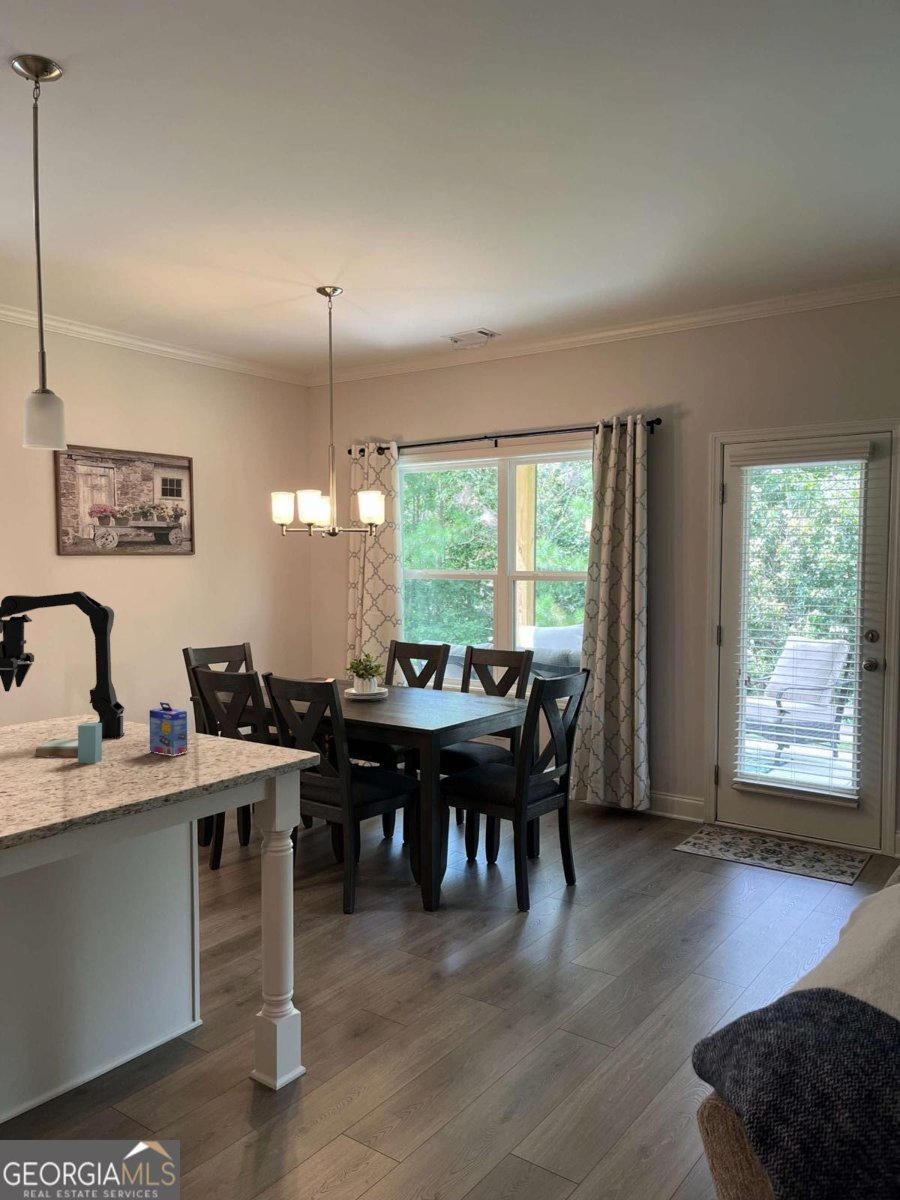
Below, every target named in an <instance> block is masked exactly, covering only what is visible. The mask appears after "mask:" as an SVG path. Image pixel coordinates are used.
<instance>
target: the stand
mask: <svg viewBox="0 0 900 1200" xmlns="http://www.w3.org/2000/svg"><path fill="white" fill-rule="evenodd" d="M36 756H39V757H38V758H46V757H45V756H49V758H52V757H51V756H61V757H60V758H65V757H66V756H76V757H75V758H78V738H52V739H50V740H48V741H46V742H44V743H43V744H41V745H39V746H38V747H37V748H35V757H36ZM66 758H67V757H66Z"/></svg>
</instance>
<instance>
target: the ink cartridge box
mask: <svg viewBox="0 0 900 1200" xmlns="http://www.w3.org/2000/svg"><path fill="white" fill-rule="evenodd" d="M159 705H160V706H161V708H160V707H159V708H152V709H149V752H150V751H151V752H158V753H164V754H171V755H174V754H179V753H182V752H186V751H187V752H188V713H187V711H186V710H181V709H173V708H172V707H171V705H170V704H169V702H159Z"/></svg>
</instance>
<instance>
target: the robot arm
mask: <svg viewBox="0 0 900 1200" xmlns="http://www.w3.org/2000/svg"><path fill="white" fill-rule="evenodd" d="M71 605H72V606H73V605H74V606H76V607H77V608H78V609H79V610H80V611H81V612H82V613H84V614H85V615H86V616H88V617H89V624H90V628H91V629H92V632H93V635H94V647H95V648H94V649H95V654H94V655H95V677H96V678H95V679H96V680H95V682H96V683H95V687H92V688H91V689H89V696H90V699H89V704H91V706H92V709H93V710H94V711H95V712H96V713H97V714H98V717H99V719H98V722H97V723H102V739H120V737H121V736H122V735H123V736H125V735H124V734H126V733H125V732H124V715H123V713H124V711H125V707H124V706H123V705H122V703H120V702H119V701H118V699H117V694H116V689H115V687H114V684H113V682H112V662H111V661H112V658H111V657H112V656H111V654H112V653H111V652H112V651H111V633H112V630H113V626H114V619H115V612H114V610H113V608H111V607H110V606H108V605H103V604H101V603H100V602H98V601H97V600H95V599H94V598H93V597H90V596H89V595H88V594H87V593H86V592H84V591H81V590H80V591H79V590H76V591H73V592H68V593H57V594H48V595H39V596H37V595H24V594H23V595H22V594H13V595H6V596H4V597H3V598H2V600H1V602H0V634H2V640H0V680H1V682H2V686H3V690H4V692H5V693H6V692H7V693H9V692H10V691H11V688H12V686H13V683H14V681H15V686H16V687H17V688H21V687H22V684H24V683H23V682H24V681H25V679H26V676H27V674H28V672H29V671H30V668H31V667H32V665H33V662H35V655H34V653H32V652H25V645H26V644H27V639H25V623H31V622H33V620H32V619H31V618H30V616H28V615H27V614H26V613H27V612H30V611H35V610H38V609H44V608H52V607H53V608H55V607H62V606H64V607H65V606H71ZM20 614H22V615H21V616H13V615H20ZM3 618H9V619H3ZM123 736H122V737H123Z"/></svg>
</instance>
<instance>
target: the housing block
mask: <svg viewBox="0 0 900 1200" xmlns="http://www.w3.org/2000/svg"><path fill="white" fill-rule="evenodd" d="M77 734H78V735H77V739H78V757H77V764H79V763H96V764H97V763H99V762H100V760H101V761H102V760H103V758H102V756H103V752H102V751H103V744H102V743H103V738H102V723H98V722H83V723H81V724H78V725H77Z"/></svg>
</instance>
